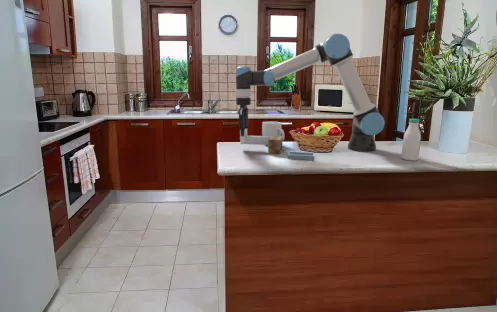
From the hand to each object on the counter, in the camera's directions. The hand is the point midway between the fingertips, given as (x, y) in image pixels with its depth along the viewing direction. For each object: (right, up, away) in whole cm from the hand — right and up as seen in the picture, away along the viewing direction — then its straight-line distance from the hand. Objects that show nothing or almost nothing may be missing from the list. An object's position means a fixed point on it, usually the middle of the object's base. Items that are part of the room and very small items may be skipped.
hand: (243, 141), depth 190 cm
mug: (+17, -2, +16) cm, 23 cm away
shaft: (+6, -1, -1) cm, 6 cm away
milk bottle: (+82, -10, -15) cm, 84 cm away
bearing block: (+17, -6, -2) cm, 18 cm away
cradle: (+28, -9, -15) cm, 33 cm away
